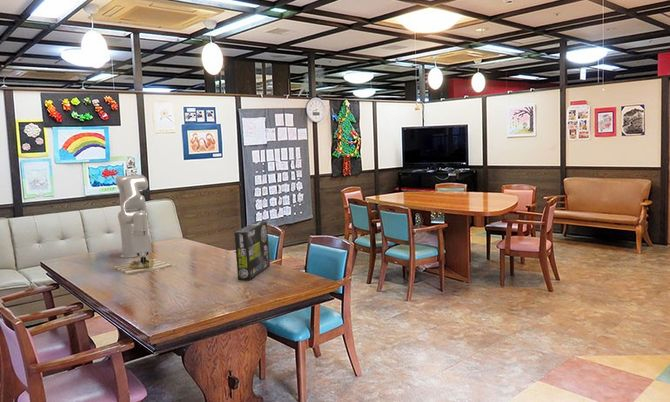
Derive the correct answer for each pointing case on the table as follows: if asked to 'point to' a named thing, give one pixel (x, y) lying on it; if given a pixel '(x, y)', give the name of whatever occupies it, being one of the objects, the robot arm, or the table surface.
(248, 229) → the box
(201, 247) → the table surface
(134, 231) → the robot arm
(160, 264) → the base
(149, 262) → the ring nut
